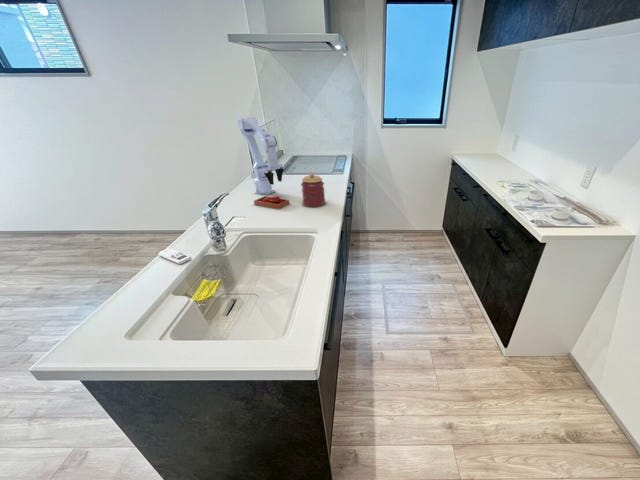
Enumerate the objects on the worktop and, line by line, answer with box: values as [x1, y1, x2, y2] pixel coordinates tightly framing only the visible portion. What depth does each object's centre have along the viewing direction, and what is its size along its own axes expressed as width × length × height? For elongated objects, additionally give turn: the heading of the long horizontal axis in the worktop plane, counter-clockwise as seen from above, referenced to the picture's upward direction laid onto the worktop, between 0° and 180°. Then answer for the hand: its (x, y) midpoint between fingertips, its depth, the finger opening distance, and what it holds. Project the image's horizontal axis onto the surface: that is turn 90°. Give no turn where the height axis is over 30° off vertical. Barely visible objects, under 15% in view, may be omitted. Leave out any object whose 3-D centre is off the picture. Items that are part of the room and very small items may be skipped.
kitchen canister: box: [300, 172, 326, 208], centre depth 179 cm, size 13×13×18 cm
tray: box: [253, 195, 290, 210], centre depth 182 cm, size 18×10×2 cm, turn 66°
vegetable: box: [263, 196, 283, 204], centre depth 181 cm, size 4×5×12 cm
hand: (275, 182), depth 187 cm, fingers open, 7 cm apart
